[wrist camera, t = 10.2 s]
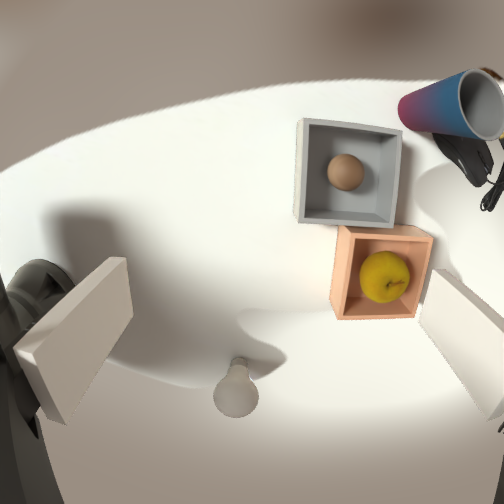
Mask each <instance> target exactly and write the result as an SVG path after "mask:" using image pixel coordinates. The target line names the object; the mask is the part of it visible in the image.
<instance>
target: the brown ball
mask: <svg viewBox="0 0 504 504" xmlns="http://www.w3.org/2000/svg"><path fill="white" fill-rule="evenodd" d="M327 175H328V179H329V181H330V183H331V184H332V185H333V186H334V187H335V188H337V189H338V190H341V191H352V190H355V189H357V188H358V187H359V186H360V185H361V184H362V182H363V180H364V176H365V170H364V167H363V164H362V163H361V161H360V160H359V159H358V158H357V157H355V156H353V155H351V154H339V155H337V156H335V157H334V158H333V159H332V160H331V161H330V163H329V165H328V168H327Z"/></svg>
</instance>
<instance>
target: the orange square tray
mask: <svg viewBox="0 0 504 504" xmlns="http://www.w3.org/2000/svg"><path fill="white" fill-rule="evenodd" d="M432 243H433V237H431V236H430V235H428V234H427V233H425V232H424V231H422V230H420V229H419V228H417V227H415V226H410V225H397V224H394V227H393V228H379V227H363V226H346V225H339V226H338V235H337V244H336V253H335V261H334V268H333V276H332V283H331V290H330V297H329V300H330V303H331V305H332V307H333V310H334V312H335V315H336V317H337V320H362V319H363V320H365V319H395V318H414V317H415V314H416V310H417V307H418V303H419V299H420V296H421V292H422V288H423V284H424V280H425V276H426V271H427V267H428V263H429V258H430V253H431V248H432ZM385 250H387V251H391V252H393V253H394V254H396V255H398V256H399V257H400V258H402V259H403V261H404V262H405V264H406V266H407V268H408V270H409V273H410V280H409V284H408V286H407V288H406V290H405V292H404V293H403V294H402V296H401V297H400V298H398V299H396V300H394V301H391V302H388V303H377V302H374V301H373V300H371V299H369V298H368V297H367V296H366V295H365V294H364V293H363V291H362V288H361V285H360V279H359V272H360V268H361V265H362V264H363V262H364V261H365V259H366V258H367V257H368V256H370V255H372V254H373V253H376V252H380V251H385Z"/></svg>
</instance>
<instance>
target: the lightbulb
mask: <svg viewBox="0 0 504 504" xmlns="http://www.w3.org/2000/svg"><path fill="white" fill-rule="evenodd" d="M213 397H214V402H215V405H216V407H217V408H218V410H219V411H220V412H222V413H223V414H224V415H226V416H229V417H233V418H240V417H244V416H246V415H248V414H250V413H251V412H252V411H253V410H254V409H255V407H256V405H257V403H258V399H259V395H258V390H257V388H256V386H255V385H254V383H253V382H252V381H251V380H250V378H249V371H248V368H247V362H246V360H244V359H243V358H235V359H233V360H232V362H231V365H230V368H229V369H228V373H227V375H226V377H225V378H223V379H222V380H221V381H220V382H219V383H218V384H217V386H216V388H215V390H214V395H213Z"/></svg>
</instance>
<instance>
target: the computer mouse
mask: <svg viewBox="0 0 504 504" xmlns="http://www.w3.org/2000/svg"><path fill="white" fill-rule="evenodd" d="M433 137H434V140H435V142H436V144H437V145H438V147H439V149H440V150H441V151H442V153H443V154H444V155H445V156H446V157H447V158H449V159H450V160H451V161H453V162H454V164H456V165H457V166H458V167H459V168H460V169H461V171H462V172H463V173H464V174H465V176H466V178H467V179H468V180H469V181H470V183H471V184H473V185H474V186H475V187H481V186H482V185H483V184H484V183H485V182H487V181H488V182H489V183H491V184H493V185H494V186H493V188H492V189H491V190H490V191H489V192H488V193H487V194H486V195H485V196H484V198H483V199H482V201H481V204H480V209H481V210H482V211H486V210H488V211H489V212H491V211H492V210H493V209H494V207H495V205H496V203H497V201H498V200H499V198H500V195H501V194H502V191H504V162H503V165H502V168H501V172H500V174H499V177H498V179H497V181H496V183H493V182H490V181H489V180H488V179H487V175H488V174H489V173H490V175H491V171H492V168H493V165H494V162H493V159H492V156H491V153H490V150H489V148H488V146H487V144H486V142H485V140H480V139H474V138H468V137H461V136H455V135H447V134H440V133H433ZM499 141H500V143H501V145H502V148H503V150H504V132H503V134H502V135H501V136H500V137H499ZM487 199H488V200H487ZM482 203H484V204H483V206H484V208H485V209H482Z"/></svg>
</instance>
